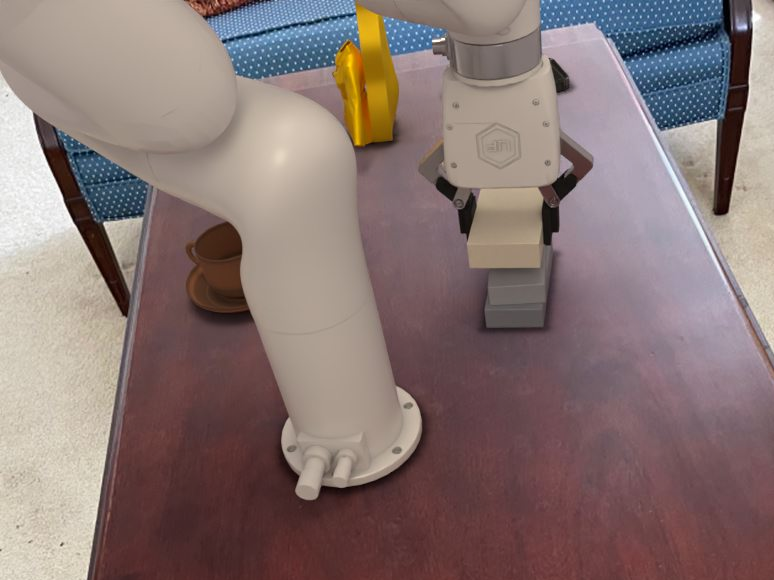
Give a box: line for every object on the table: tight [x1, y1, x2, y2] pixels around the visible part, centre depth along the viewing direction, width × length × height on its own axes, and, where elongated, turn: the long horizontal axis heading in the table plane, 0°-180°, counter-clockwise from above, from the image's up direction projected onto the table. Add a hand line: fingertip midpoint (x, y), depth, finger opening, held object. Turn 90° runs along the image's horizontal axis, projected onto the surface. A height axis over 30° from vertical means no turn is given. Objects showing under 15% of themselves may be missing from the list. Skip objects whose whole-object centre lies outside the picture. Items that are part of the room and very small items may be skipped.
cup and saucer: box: [184, 221, 250, 314], centre depth 99 cm, size 12×12×6 cm
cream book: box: [466, 187, 544, 269], centre depth 89 cm, size 10×7×3 cm, turn 172°
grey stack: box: [483, 240, 554, 329], centre depth 94 cm, size 12×6×4 cm, turn 172°
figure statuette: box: [331, 0, 400, 148], centre depth 113 cm, size 18×8×22 cm, turn 5°
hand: (510, 236), depth 90 cm, fingers closed on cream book, 6 cm apart
